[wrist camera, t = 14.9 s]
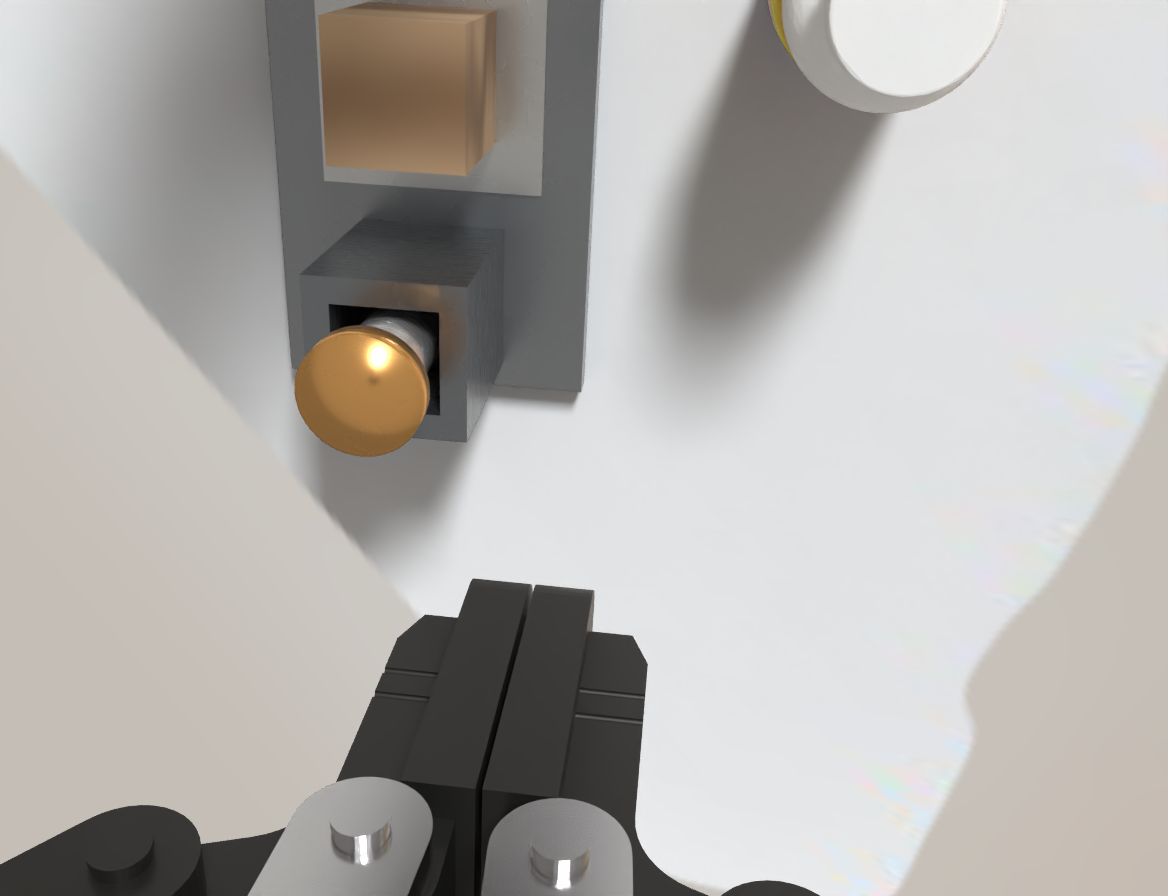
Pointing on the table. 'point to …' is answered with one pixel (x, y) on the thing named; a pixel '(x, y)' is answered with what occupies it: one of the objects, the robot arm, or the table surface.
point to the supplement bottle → (887, 47)
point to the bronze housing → (408, 87)
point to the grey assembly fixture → (452, 212)
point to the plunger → (369, 381)
